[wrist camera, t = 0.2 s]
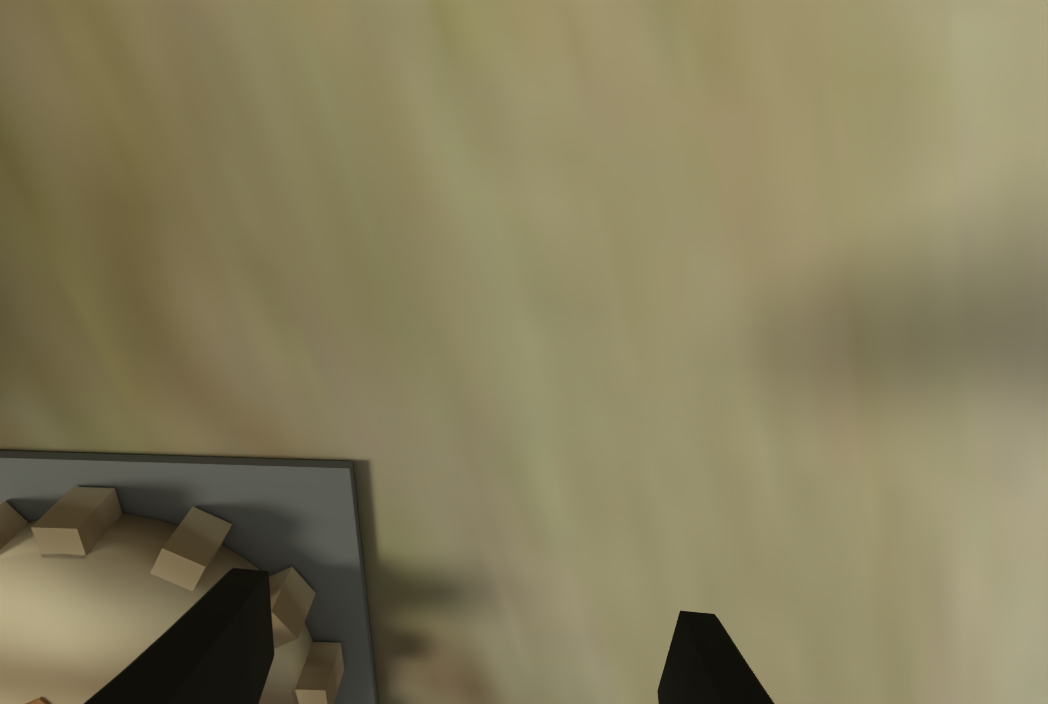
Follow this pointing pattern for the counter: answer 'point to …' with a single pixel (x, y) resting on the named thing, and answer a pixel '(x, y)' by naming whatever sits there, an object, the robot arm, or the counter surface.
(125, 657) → the sprocket
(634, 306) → the counter surface
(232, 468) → the index plate
